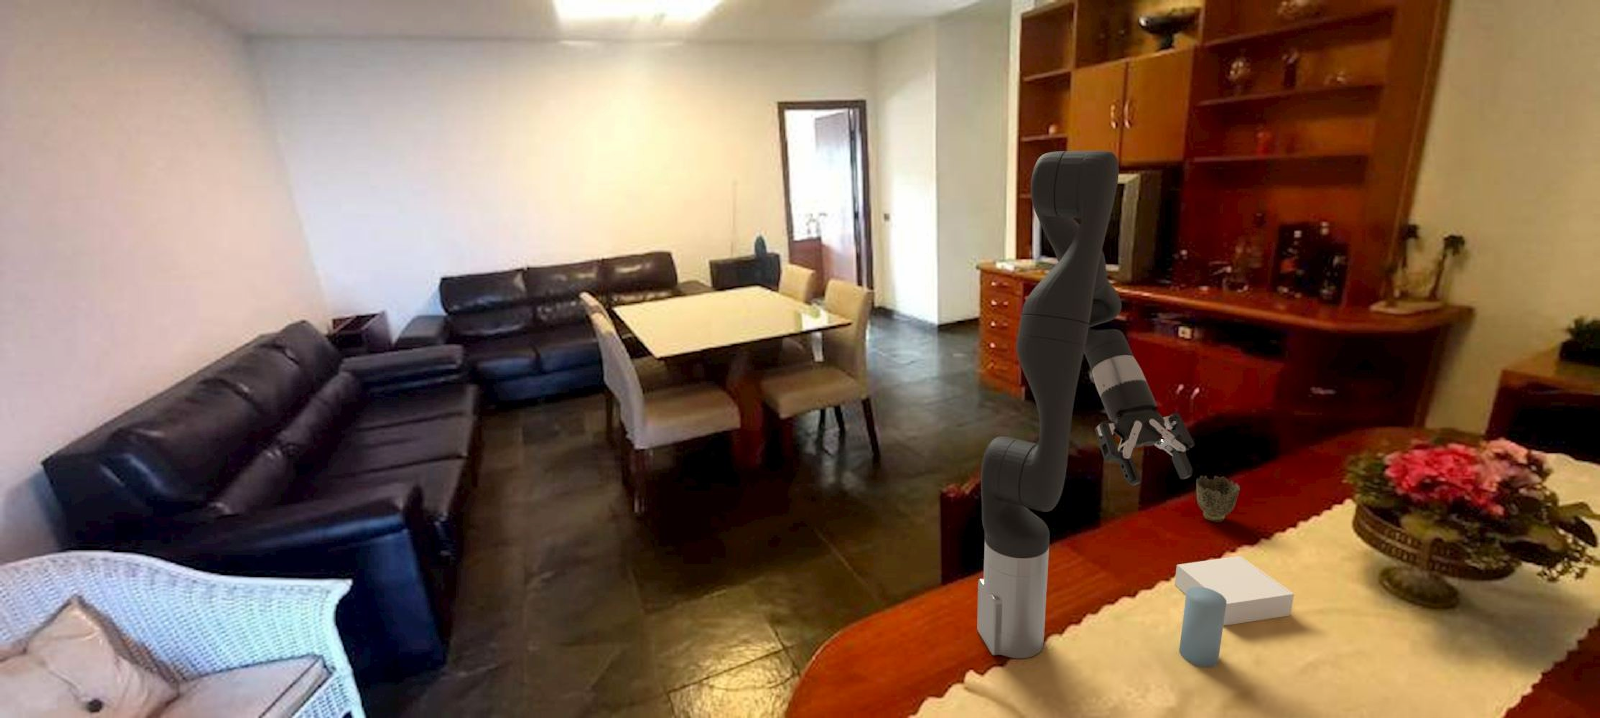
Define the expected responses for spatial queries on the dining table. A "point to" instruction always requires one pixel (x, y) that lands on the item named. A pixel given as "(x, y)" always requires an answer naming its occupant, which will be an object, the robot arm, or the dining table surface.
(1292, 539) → the dining table surface
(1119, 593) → the dining table surface
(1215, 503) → the cup
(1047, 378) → the robot arm
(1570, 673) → the dining table surface
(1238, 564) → the white plinth
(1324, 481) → the dining table surface
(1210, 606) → the blue cylinder
